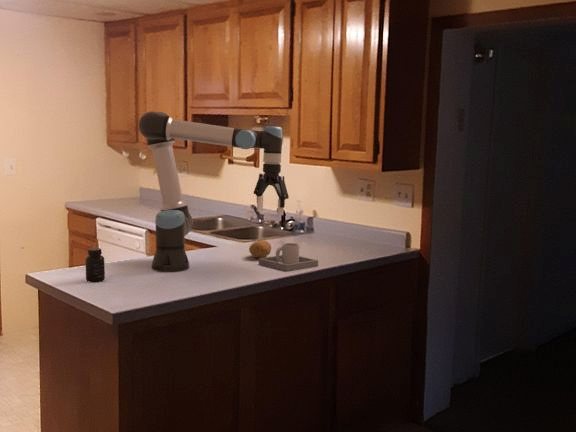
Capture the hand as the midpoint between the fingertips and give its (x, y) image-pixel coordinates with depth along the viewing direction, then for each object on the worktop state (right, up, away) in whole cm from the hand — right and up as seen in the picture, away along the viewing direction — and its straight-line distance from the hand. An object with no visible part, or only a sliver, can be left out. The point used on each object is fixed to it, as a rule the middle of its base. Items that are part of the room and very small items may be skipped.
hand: (269, 213), depth 278 cm
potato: (-5, -20, +17) cm, 27 cm away
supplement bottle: (-65, -26, -33) cm, 77 cm away
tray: (+8, -22, +1) cm, 24 cm away
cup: (+7, -22, +2) cm, 24 cm away
